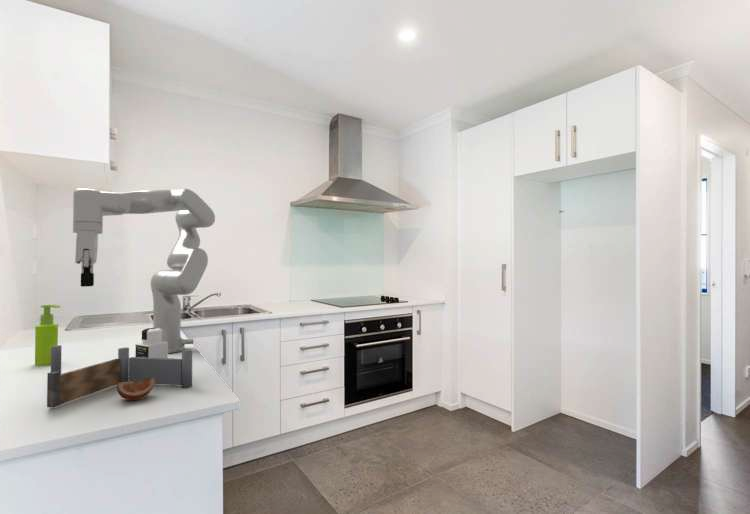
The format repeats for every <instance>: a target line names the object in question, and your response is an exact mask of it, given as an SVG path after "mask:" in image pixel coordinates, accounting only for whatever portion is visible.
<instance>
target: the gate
mask: <svg viewBox="0 0 750 514" xmlns="http://www.w3.org/2000/svg"><path fill="white" fill-rule="evenodd" d="M46 374H47V380H46V381H47V382H46V383H47V384H46V391H47V392H46V408H50V409H54V408H57V407H59V406H61V405H64V404H67V403H69V402H72V401H75V400H77V399H78V400H79V399H81V398H83V397H87V396H89V395H93V394H95V393H98V392H101V391H103V390H107V389H109V388H112V387H114V386H117V383H120V359H118V358H114V359H110V360H106V361H103V362H100V363H96V364H93V365H89V366H85V367H82V368H78V369H74V370H70V371H66V372H64V373H61V374H60V372H57V371H54V372H51V371H50V372H47V373H46Z"/></svg>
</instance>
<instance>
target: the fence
mask: <svg viewBox="0 0 750 514" xmlns="http://www.w3.org/2000/svg"><path fill="white" fill-rule="evenodd" d="M62 346H63V345H61V344H58V345H57V346H51V364H50V372H54V371H57V372H60V374H62ZM117 351H118V352H117V359H120V382H128V381H137V382H139V381H141V380H143V379H148V378H155V385H164V386H166V385H167V386H181V388H182V389H189V388H192V387H193V349H184V350H182V351H181V358H171V357H169V358H147V357H136V356H132V357H130V347H120V348H118V349H117Z"/></svg>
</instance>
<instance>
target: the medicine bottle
mask: <svg viewBox="0 0 750 514" xmlns="http://www.w3.org/2000/svg"><path fill="white" fill-rule="evenodd" d="M161 340H162V329H160V328H153V327H149V328H145V329H143V330H142V331H141V342H137V343H135V357H147V358H168V357H169V353H168V342H164V341H161Z"/></svg>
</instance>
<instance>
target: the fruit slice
mask: <svg viewBox="0 0 750 514" xmlns="http://www.w3.org/2000/svg"><path fill="white" fill-rule="evenodd" d="M155 385H156V384H155V378H148V379H143V380H141V381H139V382H137V381H128V382H120V383H117V385H116V391H117V393H118V395H119V396H120V397H121V399H123V400H127V401H136V400H137V401H138V400H141V399H143V398H145V397H147V396H148V395H149V394H150V393H151V391H152V390H153V389H154V387H155Z"/></svg>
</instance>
